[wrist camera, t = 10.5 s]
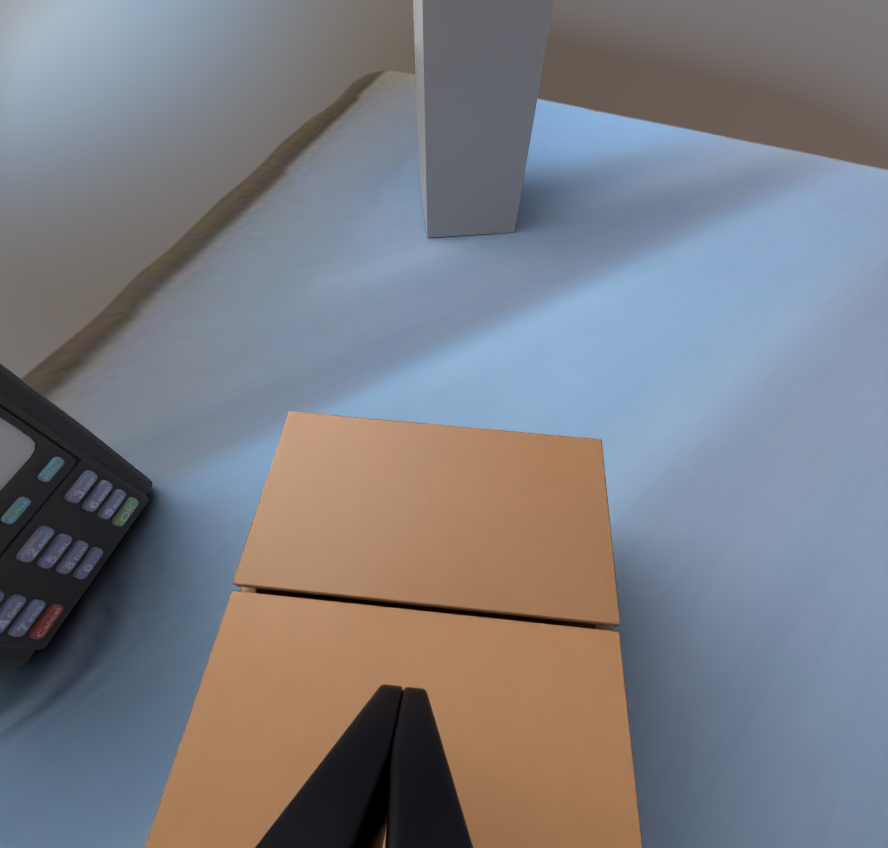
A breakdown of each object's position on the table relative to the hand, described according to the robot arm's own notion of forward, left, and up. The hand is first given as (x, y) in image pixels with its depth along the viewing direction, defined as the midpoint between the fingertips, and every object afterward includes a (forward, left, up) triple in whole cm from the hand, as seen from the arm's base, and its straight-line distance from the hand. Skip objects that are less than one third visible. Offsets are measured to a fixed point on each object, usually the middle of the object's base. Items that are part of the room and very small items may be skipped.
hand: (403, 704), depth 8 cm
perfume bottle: (+25, -22, -12) cm, 36 cm away
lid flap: (-1, +1, -4) cm, 4 cm away
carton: (+2, -1, -12) cm, 12 cm away
